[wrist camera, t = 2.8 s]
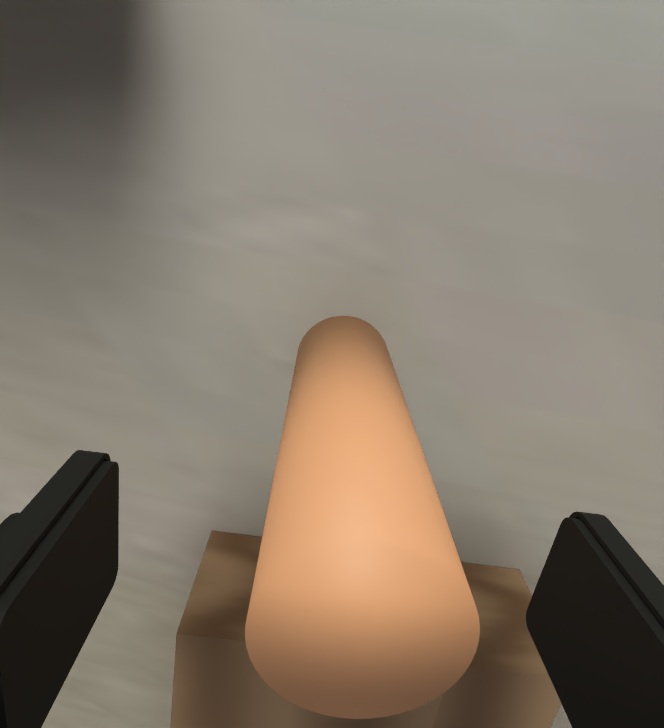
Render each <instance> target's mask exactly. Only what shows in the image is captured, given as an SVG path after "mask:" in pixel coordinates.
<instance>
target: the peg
mask: <svg viewBox="0 0 664 728" xmlns="http://www.w3.org/2000/svg"><path fill="white" fill-rule="evenodd" d="M479 635H480V623H479V615H478V612H477V608H476V605H475V602H474V599H473V596H472V593H471V590H470V587H469V584H468V582H467V579H466V576H465V573H464V570H463V567H462V564H461V561H460V558H459V555H458V553H457V550H456V547H455V544H454V541H453V538H452V535H451V532H450V529H449V526H448V524H447V521H446V518H445V515H444V512H443V509H442V506H441V503H440V500H439V497H438V494H437V492H436V489H435V486H434V483H433V480H432V477H431V474H430V471H429V468H428V465H427V463H426V460H425V457H424V454H423V451H422V448H421V445H420V442H419V439H418V436H417V434H416V431H415V428H414V425H413V422H412V419H411V416H410V413H409V410H408V407H407V405H406V402H405V399H404V396H403V393H402V390H401V387H400V384H399V381H398V378H397V376H396V373H395V370H394V367H393V364H392V361H391V358H390V355H389V352H388V349H387V347H386V344H385V342H384V339H383V338H382V336H381V335H380V333H379V332H378V331H377V330H376V329H375V328H374V327H373V326H371V325H370V324H369V323H367V322H365V321H363V320H361V319H358V318H355V317H349V316H337V317H331V318H328V319H325V320H323V321H321V322H319V323H317V324H316V325H315V326H313V327H312V328H311V329H310V330H309V331H308V332H307V333H306V335H305V336H304V337H303V339H302V341H301V343H300V346H299V349H298V354H297V359H296V364H295V369H294V375H293V380H292V385H291V390H290V395H289V401H288V406H287V411H286V416H285V421H284V427H283V432H282V437H281V442H280V447H279V453H278V458H277V463H276V468H275V473H274V479H273V484H272V489H271V494H270V499H269V505H268V510H267V515H266V520H265V525H264V531H263V536H262V541H261V546H260V551H259V557H258V562H257V567H256V572H255V578H254V583H253V588H252V593H251V598H250V604H249V609H248V614H247V619H246V624H245V641H246V648H247V651H248V654H249V658H250V660H251V662H252V664H253V666H254V668H255V670H256V671H257V672H258V674H259V675H260V677H261V678H262V679H263V680H264V681H265V682H266V683H267V685H268V686H269V687H270V688H272V689H273V690H274V691H275V692H276V693H278V694H279V695H280V696H282V697H283V698H285V699H287V700H288V701H290V702H291V703H294V704H296V705H298V706H300V707H302V708H304V709H307V710H310V711H313V712H315V713H319V714H323V715H327V716H332V717H339V718H349V719H372V718H380V717H387V716H392V715H396V714H400V713H404V712H407V711H410V710H413V709H415V708H418V707H420V706H422V705H425V704H427V703H428V702H430V701H432V700H434V699H436V698H437V697H439V696H440V695H441V694H443V693H444V692H446V691H447V690H448V689H449V688H450V687H452V686H453V685H454V684H455V683H456V682H457V681H458V680H459V679H460V677H461V676H462V675H463V674H464V673H465V671H466V670H467V668H468V667H469V665H470V664H471V662H472V660H473V657H474V655H475V653H476V650H477V646H478V643H479Z"/></svg>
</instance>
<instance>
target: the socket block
mask: <svg viewBox="0 0 664 728" xmlns="http://www.w3.org/2000/svg"><path fill="white" fill-rule="evenodd" d="M261 541H262V537H257V536H249V535H241V534H233V533H226V532H218V531H212V532H211V535H210V538H209V541H208V543H207V546H206V549H205V552H204V555H203V558H202V561H201V564H200V567H199V570H198V573H197V576H196V579H195V582H194V584H193V587H192V590H191V593H190V596H189V599H188V602H187V605H186V608H185V611H184V614H183V617H182V620H181V623H180V626H179V628H178V631H177V636H176V652H175V667H174V682H173V697H172V712H171V727H170V728H550V727H551V725H552V723H553V721H554V719H555V717H556V714H557V712H558V710H559V708H560V706H561V704H562V703H561V701H560V699H559V697H558V695H557V692H556V690H555V688H554V686H553V684H552V681H551V679H550V677H549V675H548V673H547V670H546V668H545V666H544V664H543V662H542V659H541V657H540V655H539V653H538V651H537V648H536V646H535V644H534V642H533V640H532V637H531V635H530V633H529V631H528V628H527V624H526V611H527V608H528V606H529V603H530V601H531V598H532V595H531V593H530V590H529V588H528V586H527V584H526V582H525V580H524V578H523V576H522V574H521V572H520V570H518V569H510V568H502V567H494V566H486V565H478V564H471V563H463V562H461V564H462V567H463V570H464V573H465V576H466V579H467V582H468V584H469V587H470V590H471V593H472V596H473V599H474V602H475V605H476V608H477V612H478V615H479V623H480V635H479V643H478V646H477V650H476V653H475V655H474V657H473V660H472V662H471V664H470V665H469V667H468V668H467V670H466V671H465V673H464V674H463V675H462V676H461V677H460V679H459V680H458V681H457V682H456V683H455V684H454V685H453V686H452V687H450V688H449V689H448V690H447V691H446V692H444V693H443V694H441V695H440V696H439V697H437V698H436V699H434V700H432V701H430V702H428V703H427V704H425V705H422V706H420V707H418V708H415V709H413V710H410V711H407V712H404V713H400V714H396V715H392V716H387V717H380V718H372V719H349V718H339V717H332V716H327V715H323V714H319V713H315V712H313V711H310V710H307V709H304V708H302V707H300V706H298V705H296V704H294V703H291V702H290V701H288V700H287V699H285V698H283V697H282V696H280V695H279V694H278V693H276V692H275V691H274V690H273V689H272V688H270V687H269V686H268V685H267V683H266V682H265V681H264V680H263V679H262V678H261V677H260V675H259V674H258V672H257V671H256V670H255V668H254V666H253V664H252V662H251V660H250V658H249V654H248V651H247V648H246V641H245V624H246V619H247V614H248V609H249V604H250V598H251V593H252V588H253V583H254V578H255V572H256V567H257V562H258V557H259V551H260V546H261Z"/></svg>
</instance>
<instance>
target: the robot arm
mask: <svg viewBox="0 0 664 728" xmlns="http://www.w3.org/2000/svg"><path fill="white" fill-rule="evenodd" d="M118 503H119V467H118V463H117V462H111V461H110V456H109V455H108V454H107V453H99V452H91V451H83V450H78V451H76V452H75V453H74V454H73V455H72V456H71V457H70V458H69V459H68V460H67V461H66V462H65V464H64V465H63V466H62V467H61V468H60V469H59V470H58V471H57V473H56V474H55V475H54V476H53V477H52V478H51V479H50V480H49V481H48V483H47V484H46V485H45V486H44V487H43V488H42V489H41V490H40V492H39V493H38V494H37V495H36V496H35V497H34V498H33V499H32V500H31V502H30V503H29V504H28V505H27V506H26V507H25V508H24V509H23V511H22V512H21V513H14V514H11V515H10V516H9V517H8V518H6V519H5V520H4V521H3V522H2V523H1V524H0V728H41V727H42V725H43V723H44V721H45V719H46V717H47V715H48V713H49V711H50V709H51V707H52V705H53V703H54V701H55V699H56V697H57V695H58V693H59V691H60V689H61V687H62V685H63V683H64V681H65V679H66V677H67V676H68V674H69V672H70V670H71V668H72V666H73V664H74V662H75V660H76V658H77V656H78V654H79V652H80V650H81V648H82V646H83V644H84V642H85V640H86V638H87V636H88V634H89V632H90V630H91V628H92V626H93V624H94V623H95V621H96V619H97V617H98V615H99V613H100V611H101V609H102V607H103V605H104V603H105V601H106V599H107V597H108V595H109V593H110V591H111V589H112V587H113V585H114V582H115V580H116V576H117V571H118ZM526 624H527V628H528V631H529V633H530V635H531V637H532V640H533V642H534V644H535V646H536V648H537V651H538V653H539V655H540V657H541V659H542V662H543V664H544V666H545V668H546V670H547V673H548V675H549V677H550V679H551V681H552V684H553V686H554V688H555V690H556V692H557V695H558V697H559V699H560V701H561V703H562V706H563V708H564V710H565V712H566V714H567V717H568V719H569V721H570V723H571V725H572V728H664V585H663V584H662V583H661V582H660V581H659V579H658V578H657V577H656V576H655V575H654V573H653V572H652V571H651V570H650V569H649V567H648V566H647V565H646V564H645V563H644V561H643V560H642V559H641V558H640V557H639V555H638V554H637V553H636V552H635V551H634V549H633V548H632V547H631V546H630V545H629V543H628V542H627V541H626V540H625V539H624V537H623V536H622V535H621V534H620V533H619V531H618V530H617V529H616V528H615V527H614V525H613V524H612V523H611V522H610V521H609V519H607V518H606V517H605V516H603V515H600V514H592V513H584V512H574V513H572V514H571V515H570V517H569V518H565V519H564V520H563V521H562V523H561V525H560V528H559V530H558V533H557V535H556V538H555V540H554V543H553V545H552V548H551V550H550V553H549V555H548V558H547V560H546V563H545V565H544V568H543V570H542V573H541V575H540V578H539V580H538V583H537V585H536V588H535V590H534V593H533V596H532V598H531V601H530V603H529V606H528V608H527V611H526Z"/></svg>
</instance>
